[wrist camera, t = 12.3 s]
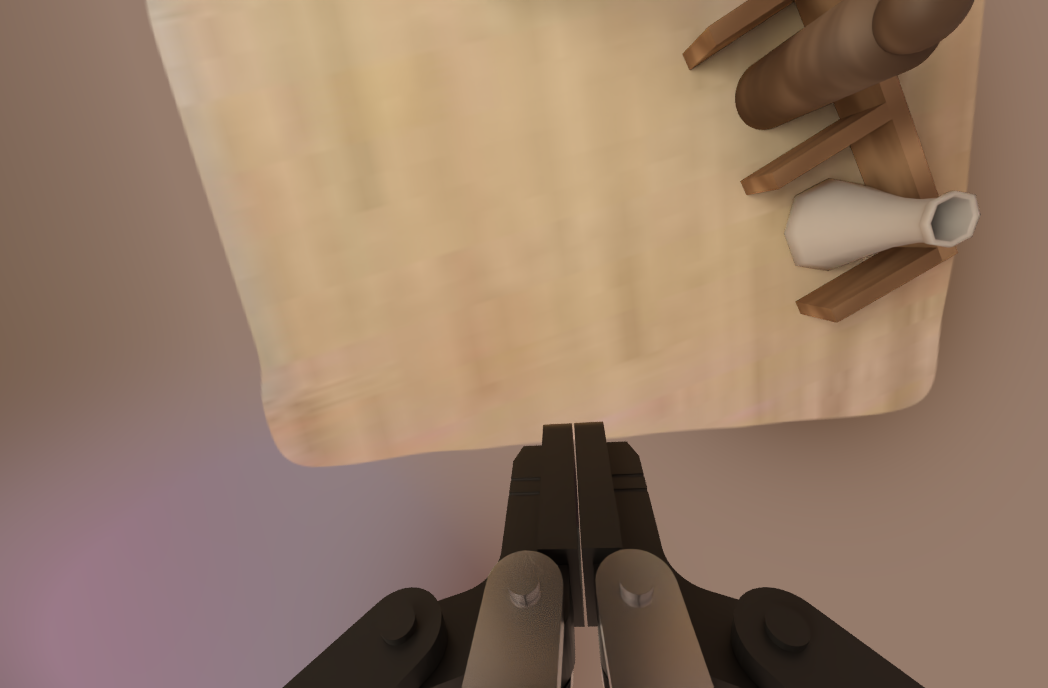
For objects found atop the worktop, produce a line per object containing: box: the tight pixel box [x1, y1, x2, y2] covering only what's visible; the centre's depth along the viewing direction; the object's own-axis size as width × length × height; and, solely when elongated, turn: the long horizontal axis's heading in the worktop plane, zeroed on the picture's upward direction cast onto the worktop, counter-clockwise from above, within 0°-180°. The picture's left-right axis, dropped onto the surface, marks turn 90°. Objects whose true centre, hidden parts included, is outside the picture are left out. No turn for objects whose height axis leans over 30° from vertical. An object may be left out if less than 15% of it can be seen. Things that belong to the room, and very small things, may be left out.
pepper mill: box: [735, 0, 974, 130], centre depth 25 cm, size 5×5×14 cm
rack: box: [683, 0, 958, 322], centre depth 31 cm, size 23×10×4 cm, turn 32°
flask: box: [784, 178, 981, 271], centre depth 29 cm, size 7×7×10 cm
